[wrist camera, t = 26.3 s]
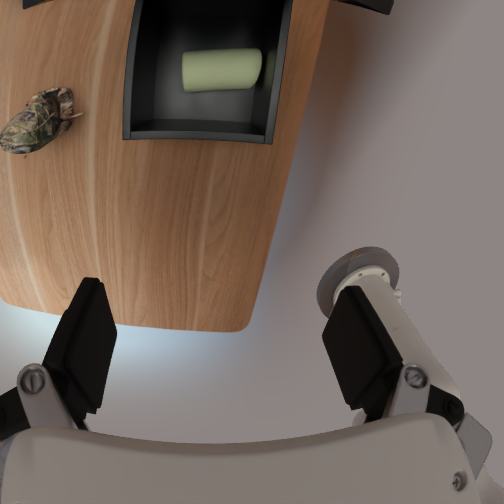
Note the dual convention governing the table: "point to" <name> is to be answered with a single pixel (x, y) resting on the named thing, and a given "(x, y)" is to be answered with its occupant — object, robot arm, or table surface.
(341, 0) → the bin lid
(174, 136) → the bin
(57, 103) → the camouflage figurine
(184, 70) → the candle
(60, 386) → the robot arm
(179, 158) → the table surface
